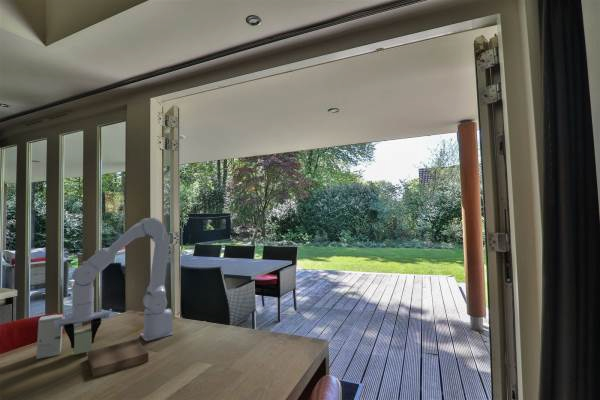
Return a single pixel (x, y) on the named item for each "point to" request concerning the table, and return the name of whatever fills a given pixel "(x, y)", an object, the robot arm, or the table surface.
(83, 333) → the sage block
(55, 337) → the skincare box
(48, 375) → the table surface
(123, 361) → the walnut base
